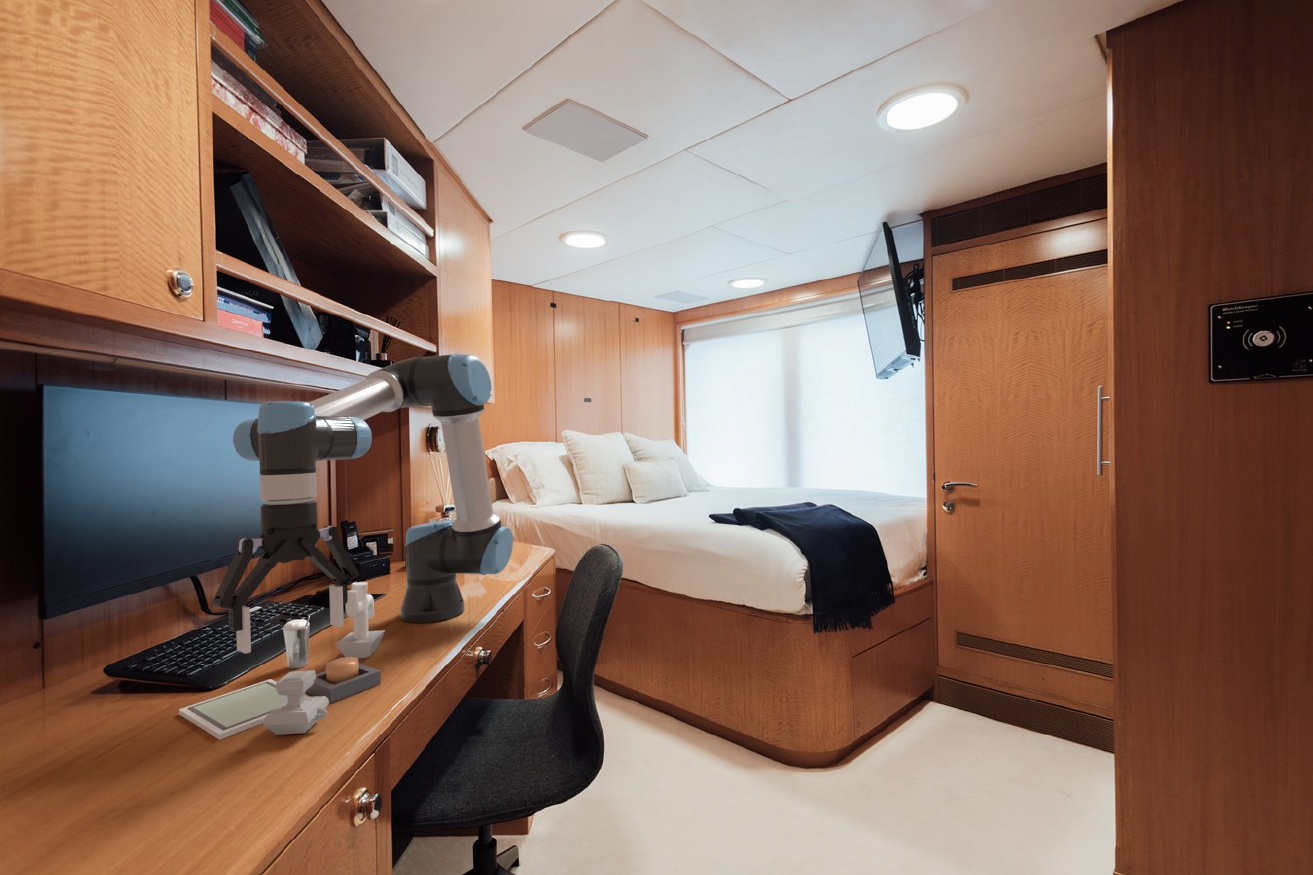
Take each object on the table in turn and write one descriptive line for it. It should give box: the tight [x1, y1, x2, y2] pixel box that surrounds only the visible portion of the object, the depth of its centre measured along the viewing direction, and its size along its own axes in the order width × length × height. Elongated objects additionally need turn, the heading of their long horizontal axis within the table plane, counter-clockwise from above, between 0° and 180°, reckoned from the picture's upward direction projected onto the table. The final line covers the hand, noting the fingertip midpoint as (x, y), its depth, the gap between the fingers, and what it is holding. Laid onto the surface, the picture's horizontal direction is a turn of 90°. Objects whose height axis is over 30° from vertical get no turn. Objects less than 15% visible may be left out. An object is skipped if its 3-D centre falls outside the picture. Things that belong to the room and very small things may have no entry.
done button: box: [325, 656, 359, 685], centre depth 109 cm, size 5×5×3 cm
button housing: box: [306, 662, 382, 704], centre depth 109 cm, size 9×9×2 cm
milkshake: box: [282, 616, 311, 670], centre depth 119 cm, size 5×5×10 cm
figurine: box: [335, 581, 387, 659], centre depth 125 cm, size 7×9×15 cm
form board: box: [178, 678, 311, 741], centre depth 101 cm, size 14×16×1 cm
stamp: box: [262, 669, 330, 736], centre depth 94 cm, size 9×7×8 cm
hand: (293, 637), depth 93 cm, fingers open, 13 cm apart
